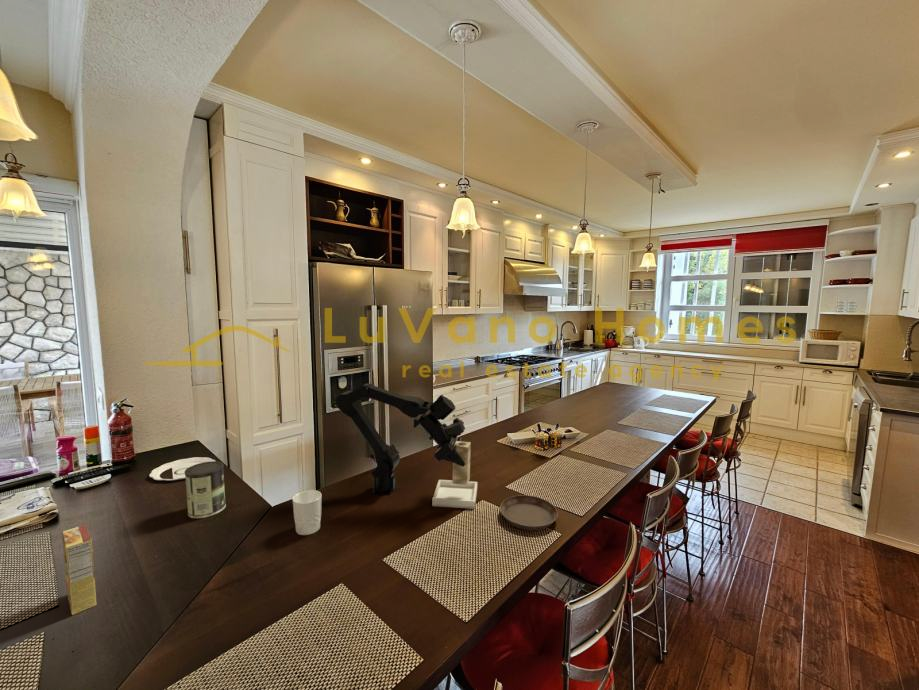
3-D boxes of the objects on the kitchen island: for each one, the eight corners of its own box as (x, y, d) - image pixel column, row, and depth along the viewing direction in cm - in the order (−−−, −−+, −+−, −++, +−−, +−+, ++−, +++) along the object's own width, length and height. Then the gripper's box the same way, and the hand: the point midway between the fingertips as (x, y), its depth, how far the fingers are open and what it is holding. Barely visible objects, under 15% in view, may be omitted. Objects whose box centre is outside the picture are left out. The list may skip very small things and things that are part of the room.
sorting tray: (432, 506, 127) (432, 498, 127) (438, 486, 141) (438, 479, 141) (474, 508, 126) (474, 501, 125) (477, 488, 139) (477, 481, 139)
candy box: (66, 595, 87) (60, 531, 85) (92, 585, 90) (86, 523, 88) (71, 616, 81) (64, 548, 80) (98, 604, 84) (92, 538, 83)
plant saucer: (558, 538, 110) (559, 528, 110) (497, 530, 114) (497, 520, 114) (556, 507, 128) (556, 498, 127) (502, 501, 131) (502, 492, 131)
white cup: (328, 524, 116) (327, 492, 115) (310, 539, 109) (308, 505, 108) (306, 519, 119) (305, 488, 118) (287, 533, 111) (286, 500, 110)
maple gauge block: (452, 483, 130) (453, 445, 129) (455, 477, 135) (456, 440, 133) (467, 485, 129) (468, 447, 128) (469, 478, 134) (470, 442, 132)
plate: (225, 468, 155) (225, 464, 155) (164, 489, 137) (164, 484, 137) (200, 457, 166) (200, 453, 166) (140, 474, 148) (140, 470, 148)
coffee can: (220, 498, 131) (217, 458, 129) (230, 509, 124) (227, 467, 122) (183, 510, 123) (180, 467, 122) (192, 522, 116) (189, 477, 115)
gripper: (444, 421, 121) (478, 458, 120) (456, 406, 139) (486, 438, 138) (420, 443, 123) (453, 480, 122) (435, 425, 142) (464, 457, 141)
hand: (465, 462), depth 131 cm, fingers closed on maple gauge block, 5 cm apart
